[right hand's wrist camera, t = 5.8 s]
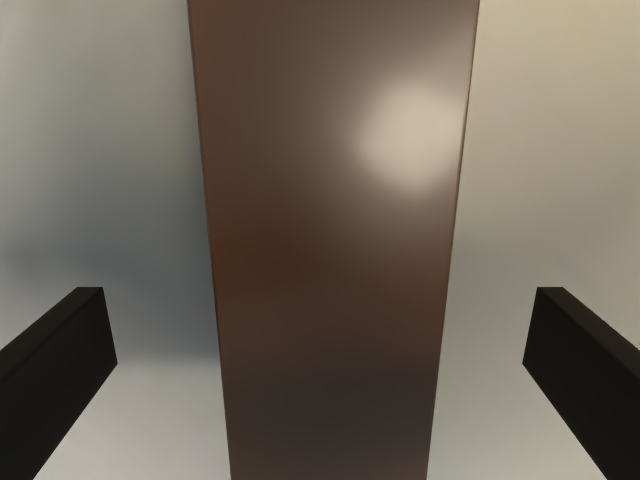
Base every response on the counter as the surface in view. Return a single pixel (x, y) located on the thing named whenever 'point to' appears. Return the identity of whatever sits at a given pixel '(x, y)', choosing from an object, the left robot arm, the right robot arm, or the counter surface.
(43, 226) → the counter surface
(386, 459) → the plank
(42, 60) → the counter surface
